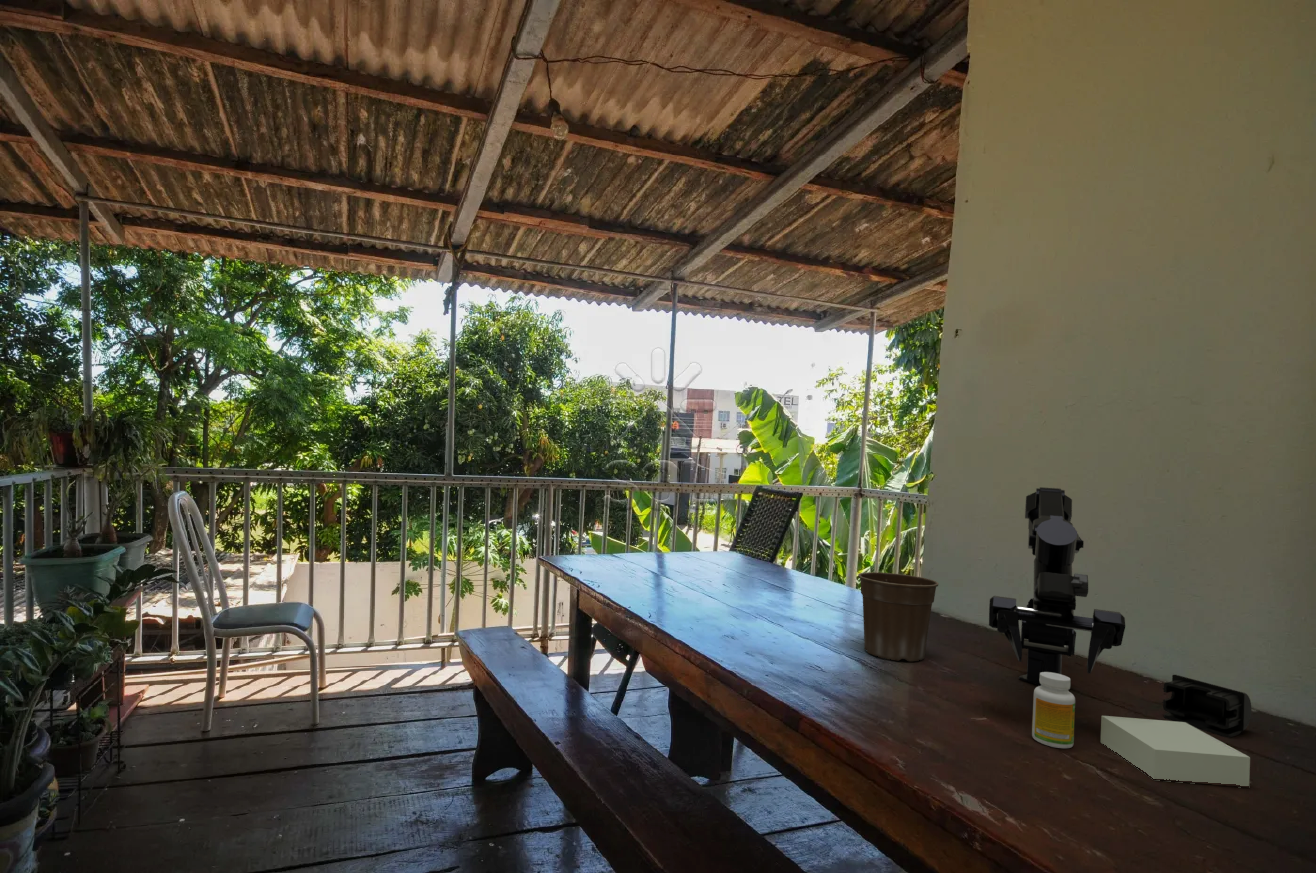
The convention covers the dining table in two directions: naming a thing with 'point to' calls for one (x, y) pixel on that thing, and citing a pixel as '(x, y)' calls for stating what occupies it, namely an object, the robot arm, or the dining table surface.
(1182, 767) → the plinth
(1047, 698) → the supplement bottle
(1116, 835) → the dining table surface
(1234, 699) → the end cap
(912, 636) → the plant pot
